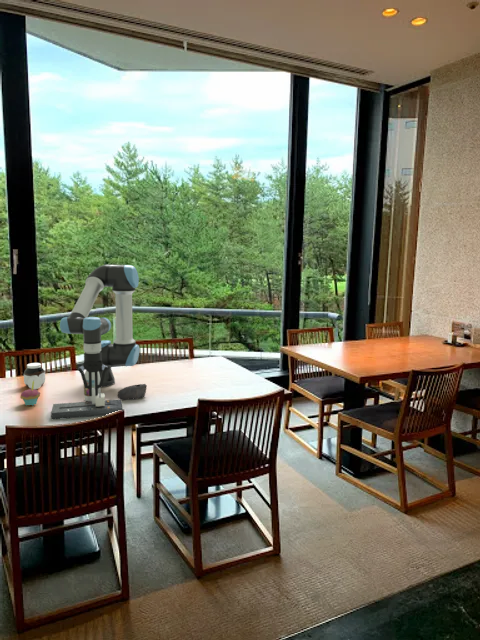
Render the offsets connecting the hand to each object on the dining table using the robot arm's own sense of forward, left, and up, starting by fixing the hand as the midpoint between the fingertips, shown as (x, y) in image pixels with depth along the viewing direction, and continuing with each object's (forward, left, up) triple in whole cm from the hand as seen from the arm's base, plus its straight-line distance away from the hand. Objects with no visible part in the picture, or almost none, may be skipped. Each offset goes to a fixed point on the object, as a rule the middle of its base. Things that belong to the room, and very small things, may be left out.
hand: (93, 402), depth 218 cm
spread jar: (-46, -30, -5) cm, 55 cm away
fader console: (0, -3, -4) cm, 5 cm away
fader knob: (0, +3, -1) cm, 3 cm away
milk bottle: (-18, -1, -5) cm, 19 cm away
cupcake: (-17, -29, -5) cm, 34 cm away
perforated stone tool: (-15, +18, -5) cm, 24 cm away
